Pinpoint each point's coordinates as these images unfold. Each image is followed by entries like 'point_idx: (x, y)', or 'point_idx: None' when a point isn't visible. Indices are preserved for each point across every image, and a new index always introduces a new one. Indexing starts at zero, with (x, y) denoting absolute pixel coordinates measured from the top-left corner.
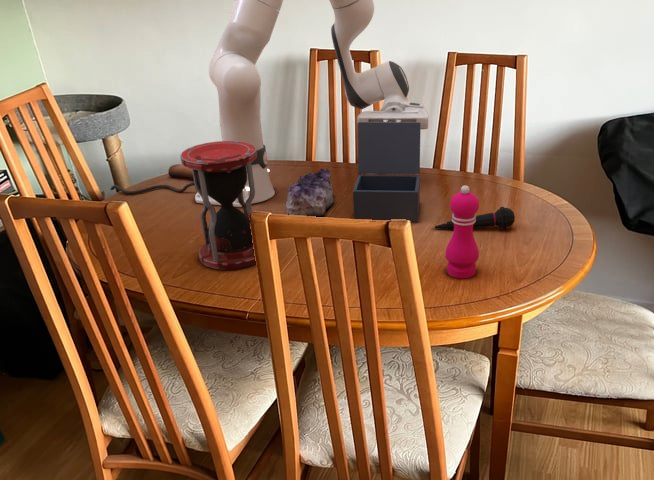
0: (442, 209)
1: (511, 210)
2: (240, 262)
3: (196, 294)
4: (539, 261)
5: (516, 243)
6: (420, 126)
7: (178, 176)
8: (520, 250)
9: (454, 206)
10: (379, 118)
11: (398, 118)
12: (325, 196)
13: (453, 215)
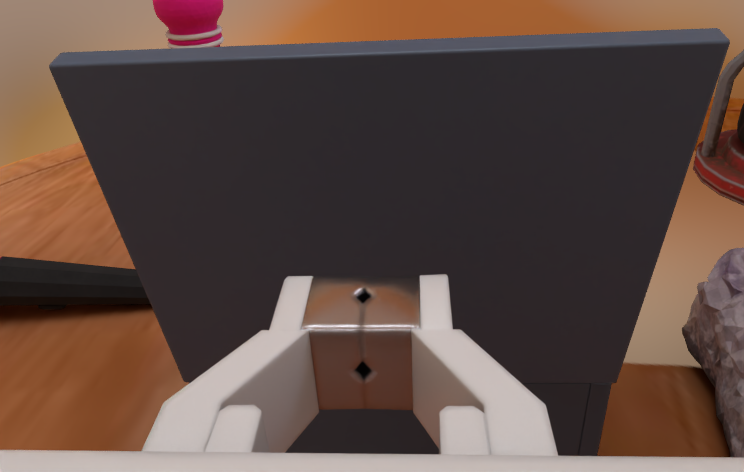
0: (123, 449)
1: None
2: (720, 133)
3: (730, 106)
4: (22, 196)
5: (12, 246)
6: (67, 97)
7: None
8: (29, 224)
9: None
10: (668, 463)
11: (187, 455)
12: (722, 322)
13: (217, 27)
